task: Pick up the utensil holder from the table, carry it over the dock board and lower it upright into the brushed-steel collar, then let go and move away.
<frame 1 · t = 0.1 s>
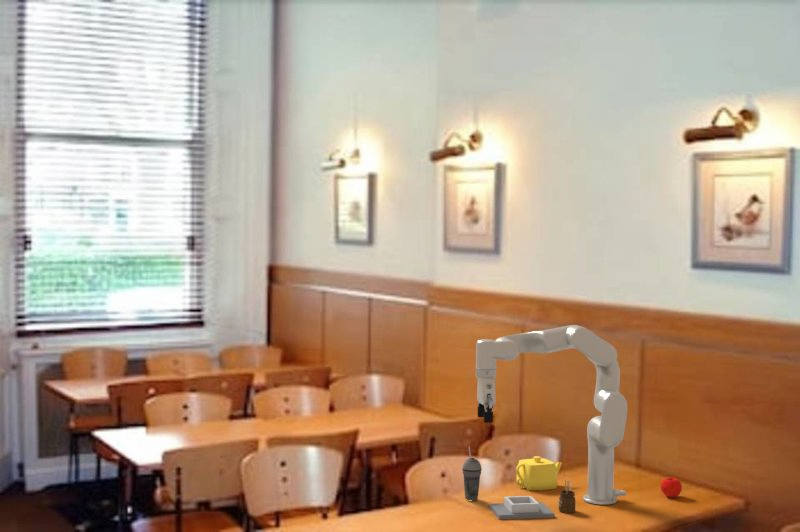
hand: (485, 419, 355), 31 cm above the table, fingers open, 9 cm apart
teapot: (538, 486, 382), on the table
dock: (521, 512, 346), on the table
utensil holder: (566, 511, 349), on the table
apple: (670, 497, 370), on the table
beverage cup: (471, 500, 362), on the table
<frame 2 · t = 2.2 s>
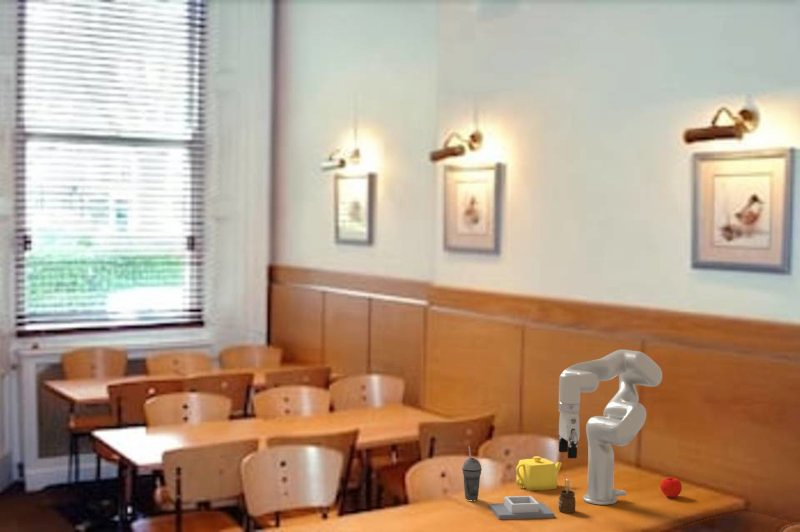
hand: (567, 455, 348), 20 cm above the table, fingers open, 9 cm apart
nothing on the table moved.
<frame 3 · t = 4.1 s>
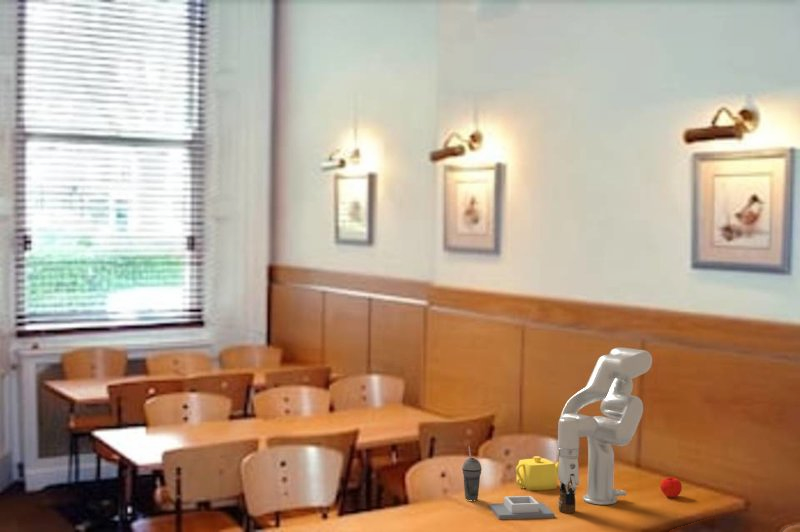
hand: (567, 501, 349), 4 cm above the table, fingers closed on utensil holder, 5 cm apart
utensil holder: (566, 511, 349), on the table, touching gripper
everything else where it was.
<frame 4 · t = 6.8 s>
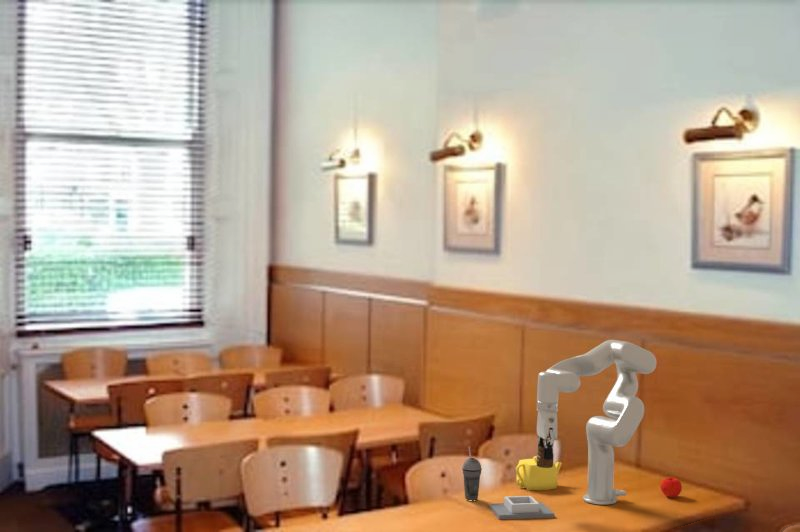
hand: (545, 456, 346), 20 cm above the table, fingers closed on utensil holder, 5 cm apart
utensil holder: (544, 466, 346), point 16 cm above the table, touching gripper
everything else where it was.
when the fingers open (6 cm above the table, at t = 9.7 s): utensil holder drops 1 cm, resting on dock.
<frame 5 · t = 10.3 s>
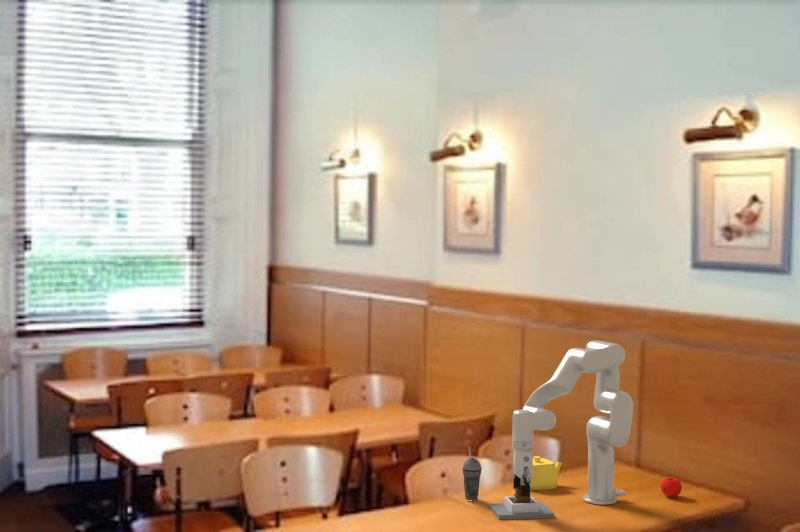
hand: (521, 492, 346), 7 cm above the table, fingers open, 9 cm apart
utensil holder: (521, 508, 346), point 1 cm above the table, touching dock
everything else where it was.
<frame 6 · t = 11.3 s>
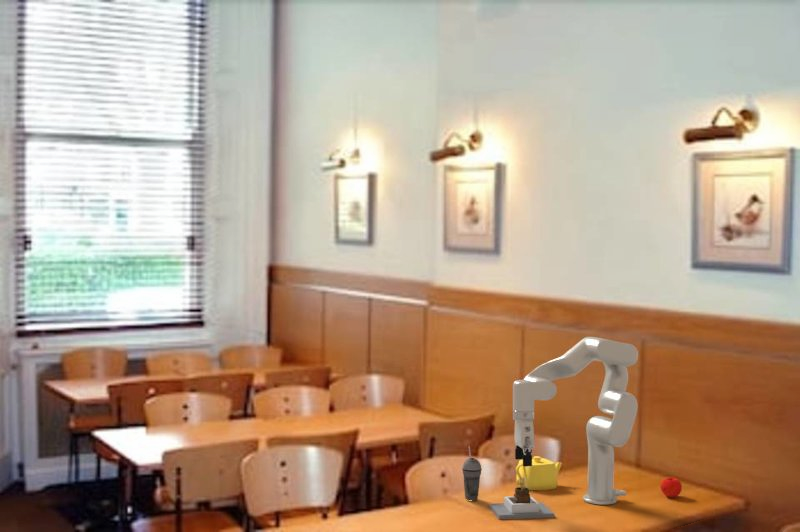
hand: (523, 462, 346), 18 cm above the table, fingers open, 9 cm apart
nothing on the table moved.
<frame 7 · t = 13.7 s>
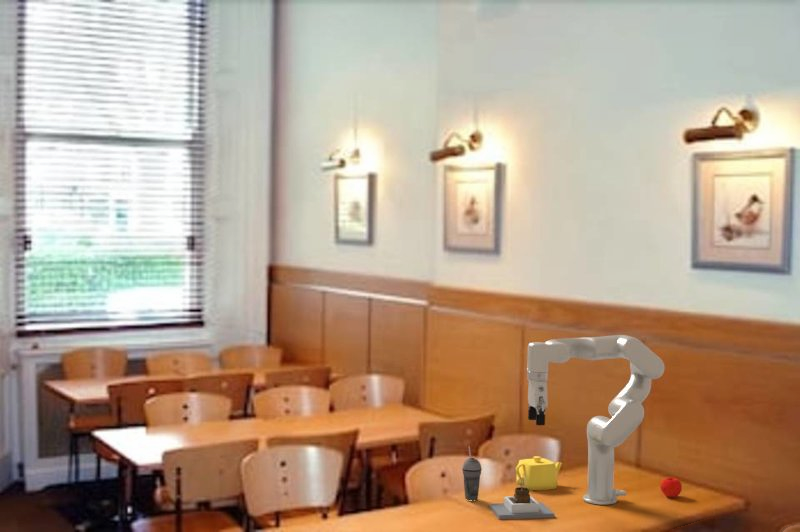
hand: (536, 422, 356), 30 cm above the table, fingers open, 9 cm apart
nothing on the table moved.
at the end: utensil holder 0.1 cm off-centre on the dock, point 1.3 cm above the dock's base; utensil holder tilted 0°; the gripper is holding nothing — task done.
